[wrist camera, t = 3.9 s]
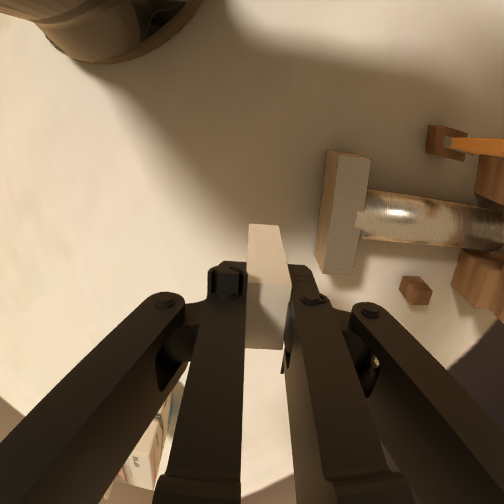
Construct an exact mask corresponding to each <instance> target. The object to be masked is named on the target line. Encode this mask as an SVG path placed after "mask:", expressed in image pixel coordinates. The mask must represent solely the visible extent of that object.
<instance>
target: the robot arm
mask: <svg viewBox="0 0 504 504" xmlns="http://www.w3.org/2000/svg"><path fill="white" fill-rule="evenodd" d="M201 2H202V0H0V13H4V14H7V15H11V16H15V17H18V18H22V19H25V20H29V21H32V22H34V23H35V24H36V25H37V26H38V27H39V28H40V29H41V30H42V31H43V33H44V34H45V36H46V38H47V39H48V40H49V41H50V43H51V44H52V45H53V46H54V47H55V48H56V49H57V50H59V51H60V52H61V53H63V54H65V55H67V56H69V57H71V58H75V59H78V60H82V61H85V62H89V63H95V64H111V63H118V62H123V61H127V60H130V59H133V58H136V57H139V56H141V55H143V54H145V53H148V52H150V51H151V50H153V49H155V48H157V47H158V46H160V45H162V44H163V43H164V42H166V41H167V40H169V39H170V38H171V37H172V36H174V35H175V34H176V33H177V32H178V31H179V30H180V29H181V28H182V27H183V26H184V25H185V24H186V23H187V22H188V21H189V20H190V18H191V17H192V16H193V15H194V13H195V12H196V10H197V9H198V7H199V5H200V4H201ZM283 343H284V344H285V349H284V355H283V361H282V367H281V373H280V374H284V373H285V382H286V392H287V402H288V413H289V423H290V434H291V444H292V455H293V466H294V477H295V489H296V501H297V504H415V501H414V498H413V495H412V492H411V488H412V490H413V491H414V493H415V494H416V496H417V498H418V499H419V501H420V502H421V504H504V432H503V430H502V429H501V428H500V427H499V426H498V425H497V424H496V423H495V421H494V420H493V419H492V418H491V417H490V416H489V415H488V414H487V413H486V412H485V411H484V410H483V408H482V407H481V406H480V405H479V404H478V403H477V402H476V401H475V400H474V399H473V398H472V396H471V395H470V394H469V393H468V392H467V391H466V390H465V389H464V388H463V387H462V386H461V385H460V384H459V383H458V382H457V381H456V380H455V379H454V377H453V376H452V375H450V374H449V372H448V371H447V370H446V369H445V368H444V367H443V366H442V365H441V364H440V363H439V362H438V361H437V360H436V359H435V358H434V357H433V356H432V355H431V354H430V353H429V352H428V351H427V350H426V349H425V348H424V347H423V346H422V345H421V344H420V343H419V342H418V341H417V340H416V339H415V338H414V337H413V336H412V335H411V334H410V333H409V332H408V331H407V330H406V329H405V328H404V327H403V326H402V325H401V324H400V323H399V322H398V321H397V320H396V319H395V318H394V317H393V316H392V315H391V314H390V313H389V312H388V311H387V310H385V309H384V308H383V307H381V306H379V305H377V304H375V303H371V302H360V303H357V304H355V305H354V306H353V307H352V311H351V312H346V311H341V310H338V309H335V308H332V305H331V303H330V300H329V299H328V298H327V297H326V296H324V295H323V294H321V293H319V290H318V287H317V285H316V282H315V279H314V277H313V274H312V271H311V270H310V269H309V268H308V267H306V266H305V265H295V264H287V261H286V257H285V252H284V248H283V244H282V239H281V235H280V231H279V226H278V225H264V224H249V232H248V247H247V262H234V261H223V262H222V263H220V264H219V265H218V266H215V267H213V268H211V269H210V270H209V271H208V290H207V298H206V299H205V300H203V301H200V302H196V303H189V304H185V301H184V298H183V297H182V296H180V295H179V294H176V293H171V292H159V293H156V294H153V295H151V296H149V297H148V298H147V299H146V300H144V301H143V302H142V303H141V304H140V305H139V306H138V307H137V308H136V309H135V310H134V311H133V312H132V313H131V314H129V315H128V316H127V317H126V318H125V319H124V320H123V321H122V322H121V323H120V324H119V325H118V326H117V327H116V328H115V329H114V330H113V331H111V332H110V333H109V334H108V335H107V336H106V337H105V338H104V339H103V340H102V341H101V342H100V343H99V344H98V345H97V346H96V347H95V348H94V349H93V350H92V351H91V352H90V353H89V354H88V355H87V356H86V357H84V358H83V359H82V360H81V361H80V362H79V363H78V364H77V365H76V366H75V367H74V368H73V369H72V370H71V371H70V372H69V373H68V374H67V375H66V376H65V377H64V378H63V379H62V380H61V381H60V382H59V383H58V384H57V385H56V386H55V387H54V388H53V389H52V390H51V391H50V392H49V393H48V394H47V395H46V396H45V397H44V398H43V399H42V400H41V401H40V402H39V403H38V404H37V405H36V406H35V407H34V408H33V409H32V410H31V411H30V412H29V414H28V415H27V416H26V417H25V418H24V419H23V420H22V421H21V422H20V423H19V424H18V425H17V426H16V427H15V428H14V429H13V430H12V431H11V432H10V433H9V434H8V436H7V437H6V438H5V439H4V440H3V441H2V442H1V443H0V504H98V503H99V502H100V500H101V499H102V497H103V496H104V494H105V493H106V491H107V490H108V488H109V487H110V485H111V483H112V482H113V480H114V479H115V477H116V476H117V474H118V473H119V471H120V470H121V468H122V467H123V465H124V464H125V462H126V461H127V459H128V457H129V456H130V454H131V453H132V451H133V450H134V448H135V447H136V445H137V444H138V442H139V441H140V439H141V437H142V436H143V434H144V433H145V431H146V430H147V428H148V427H149V425H150V424H151V422H152V421H153V419H154V417H155V416H156V414H157V413H158V411H159V410H160V408H161V407H162V405H163V404H164V402H165V400H166V399H167V397H168V396H169V394H170V393H171V391H172V390H173V388H174V386H175V385H176V383H177V382H178V380H179V379H180V377H181V376H182V374H183V372H184V371H185V369H186V368H187V365H188V362H189V361H191V363H190V367H189V371H188V375H187V380H186V384H185V388H184V392H183V397H182V401H181V406H180V410H179V414H178V419H177V423H176V428H175V433H174V437H173V442H172V446H171V451H170V456H169V461H168V465H167V469H166V472H165V474H163V475H160V477H159V479H158V481H157V484H156V487H155V491H154V496H153V501H152V504H241V503H240V502H241V482H240V473H241V442H242V413H243V384H244V356H245V348H253V349H274V350H282V349H283ZM375 357H377V359H378V361H379V363H380V364H379V366H377V365H376V364H375V363H374V360H375ZM379 438H380V440H381V441H382V443H383V445H384V446H385V448H386V449H387V451H388V452H389V454H390V455H391V457H392V459H393V460H394V462H395V463H396V465H397V466H398V468H399V470H400V471H401V473H400V472H391V470H389V468H388V466H387V463H386V459H385V456H384V453H383V450H382V447H381V444H380V440H379ZM410 487H411V488H410Z"/></svg>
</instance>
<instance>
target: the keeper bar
mask: <svg viewBox="0 0 504 504" xmlns="http://www.w3.org/2000/svg"><path fill="white" fill-rule="evenodd" d="M442 145H443V147H444V148H448V149H451V150H455V151H459V152H462V153H466V154H469V155H474V154H483V155H493V156H502V157H504V139H502V138H453V137H450V136H444V137H443V140H442Z"/></svg>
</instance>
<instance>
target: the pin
mask: <svg viewBox="0 0 504 504" xmlns="http://www.w3.org/2000/svg"><path fill="white" fill-rule="evenodd" d="M370 163H371V159H368V158H365V157H362V156H359V155H356V154H351V153H343V152H336V151H328V150H327V158H326V167H325V176H324V184H323V193H322V201H321V209H320V216H319V224H318V231H317V238H316V245H315V252H314V255H315V258H316V260H317V262H318V265H319V267H320V269H321V272H322V274H339V275H352V271H353V266H354V261H355V256H356V251H357V246H358V240H359V239H369V240H380V241H392V242H403V243H414V244H425V245H435V246H446V247H456V248H466V249H475V250H485V251H497V250H498V249H500V248H501V246H502V245H503V243H504V217H503V215H502V214H501V213H500V212H498V211H495V210H491V209H486V208H481V207H476V206H471V205H465V204H460V203H455V202H449V201H443V200H438V199H432V198H426V197H419V196H413V195H406V194H400V193H393V192H386V191H379V190H371V189H367V186H368V179H369V171H370Z"/></svg>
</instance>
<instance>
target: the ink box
mask: <svg viewBox="0 0 504 504" xmlns="http://www.w3.org/2000/svg"><path fill="white" fill-rule="evenodd" d="M171 398H172V391H171V393H170V394H169V396H168V397H167V399H166V400H165V402H164V404H163V405H162V407H161V408H160V410H159V411H158V413H157V414H156V416H155V417H154V419H153V421H152V422H151V424H150V425H149V427H148V428H147V430H146V431H145V433H144V434H143V436H142V437H141V439H140V441H139V442H138V444H137V445H136V447H135V448H134V450H133V451H132V453H131V454H130V456H129V457H128V459H127V461H126V462H125V464H124V465H123V467H122V468H121V470H120V471H119V473H118V474H117V476H116V477H115V479H114V480H117V481H121V482H124V483H127V484H131V485H134V486H138V487H142V488H145V489H149V490H154V486H155V482H156V477H157V473H158V469H159V464H160V460H161V456H162V451H163V447H164V443H165V439H166V435H167V431H168V427H169V423H170V418H171ZM112 484H113V482H112V483H111V485H110V487H109V488H108V490H107V491H106V493H105V494H104V497H105V499H106V500H108V498H109V495H110V491H111V488H112Z"/></svg>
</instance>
